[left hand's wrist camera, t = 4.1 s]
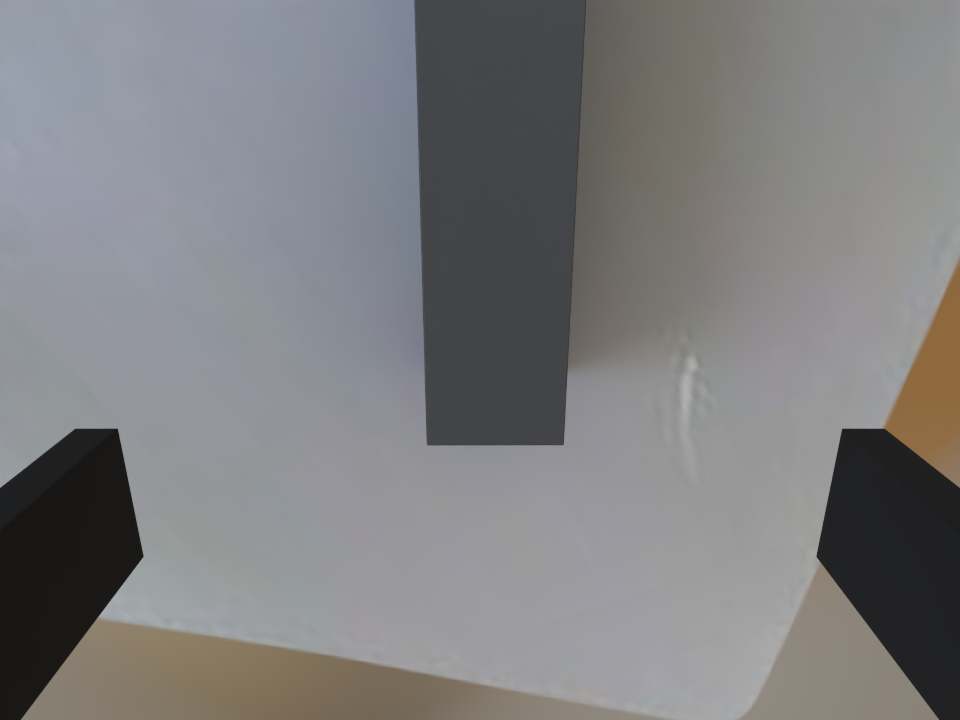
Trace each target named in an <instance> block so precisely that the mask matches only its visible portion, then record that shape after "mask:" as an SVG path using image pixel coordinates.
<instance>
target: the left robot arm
mask: <svg viewBox="0 0 960 720" xmlns="http://www.w3.org/2000/svg"><path fill="white" fill-rule="evenodd" d="M143 557H144V556H143V551H142V546H141V542H140V537H139V532H138V527H137V522H136V517H135V512H134V507H133V502H132V497H131V492H130V487H129V482H128V477H127V472H126V467H125V462H124V457H123V452H122V447H121V443H120V438H119V433H118V429H75V430H73V431H72V432H71V433H70V434H68V435H67V436H66V437H64V438H63V439H62V440H61V441H59V442H58V443H57V444H56V445H54V446H53V447H52V448H50V449H49V450H48V451H47V452H45V453H44V454H43V455H42V456H40V457H39V458H38V459H37V460H35V461H34V462H33V463H31V464H30V465H29V466H28V467H26V468H25V469H24V470H23V471H21V472H20V473H19V474H17V475H16V476H15V477H14V478H12V479H11V480H10V481H9V482H7V483H6V484H5V485H4V486H2V487H1V488H0V720H21V719H22V717H23V716H24V715H25V713H26V712H27V711H28V709H29V708H30V707H31V705H32V704H33V703H34V701H35V700H36V699H37V697H38V696H39V695H40V693H41V692H42V691H43V689H44V688H45V687H46V685H47V684H48V683H49V681H50V680H51V679H52V677H53V676H54V675H55V673H56V672H57V671H58V670H59V668H60V667H61V665H62V664H63V663H64V662H65V660H66V659H67V658H68V656H69V655H70V654H71V652H72V651H73V650H74V648H75V647H76V646H77V644H78V643H79V642H80V640H81V639H82V638H83V636H84V635H85V634H86V632H87V631H88V630H89V628H90V627H91V626H92V624H93V623H94V622H95V620H96V619H97V618H98V616H99V615H100V614H101V612H102V611H103V610H104V608H105V607H106V606H107V604H108V603H109V602H110V600H111V599H112V598H113V597H114V595H115V594H116V593H117V591H118V590H119V589H120V587H121V586H122V585H123V583H124V582H125V581H126V579H127V578H128V577H129V575H130V574H131V573H132V571H133V570H134V569H135V567H136V566H137V565H138V563H139V562H140V561H141V559H142V558H143ZM816 557H817V558H818V559H819V561H820V562H821V563H822V565H823V566H824V567H825V569H826V570H827V571H828V573H829V574H830V575H831V577H832V578H833V579H834V581H835V582H836V583H837V585H838V586H839V587H840V589H841V590H842V591H843V593H844V594H845V595H846V596H847V598H848V599H849V600H850V602H851V603H852V604H853V606H854V607H855V608H856V610H857V611H858V612H859V614H860V615H861V616H862V618H863V619H864V620H865V622H866V623H867V624H868V626H869V627H870V628H871V630H872V631H873V632H874V634H875V635H876V636H877V638H878V639H879V640H880V642H881V643H882V644H883V646H884V647H885V648H886V650H887V651H888V652H889V654H890V655H891V656H892V657H893V659H894V660H895V662H896V663H897V664H898V666H899V667H900V668H901V670H902V671H903V672H904V674H905V675H906V676H907V677H908V679H909V680H910V681H911V683H912V684H913V685H914V687H915V688H916V689H917V691H918V692H919V693H920V695H921V696H922V697H923V699H924V700H925V701H926V703H927V704H928V705H929V707H930V708H931V709H932V711H933V712H934V713H935V715H936V716H937V717H938V719H939V720H960V488H959V487H958V486H956V485H955V484H954V483H953V482H951V481H950V480H949V479H948V478H946V477H945V476H944V475H943V474H941V473H940V472H939V471H937V470H936V469H935V468H934V467H932V466H931V465H930V464H929V463H927V462H926V461H925V460H923V459H922V458H921V457H920V456H918V455H917V454H916V453H915V452H913V451H912V450H911V449H910V448H908V447H907V446H906V445H904V444H903V443H902V442H901V441H899V440H898V439H897V438H896V437H894V436H893V435H892V434H890V433H889V432H888V431H887V430H885V429H842V433H841V438H840V443H839V447H838V452H837V457H836V462H835V467H834V472H833V477H832V482H831V487H830V492H829V497H828V502H827V507H826V512H825V517H824V522H823V527H822V532H821V537H820V542H819V546H818V551H817V556H816Z"/></svg>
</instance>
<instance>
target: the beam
mask: <svg viewBox="0 0 960 720" xmlns="http://www.w3.org/2000/svg"><path fill="white" fill-rule="evenodd" d="M414 1H415V37H416V73H417V109H418V144H419V180H420V216H421V252H422V288H423V324H424V360H425V396H426V432H427V445H563V444H564V429H565V409H566V389H567V369H568V349H569V329H570V309H571V289H572V269H573V249H574V230H575V210H576V190H577V170H578V150H579V130H580V110H581V90H582V70H583V50H584V31H585V11H586V0H414Z"/></svg>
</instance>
